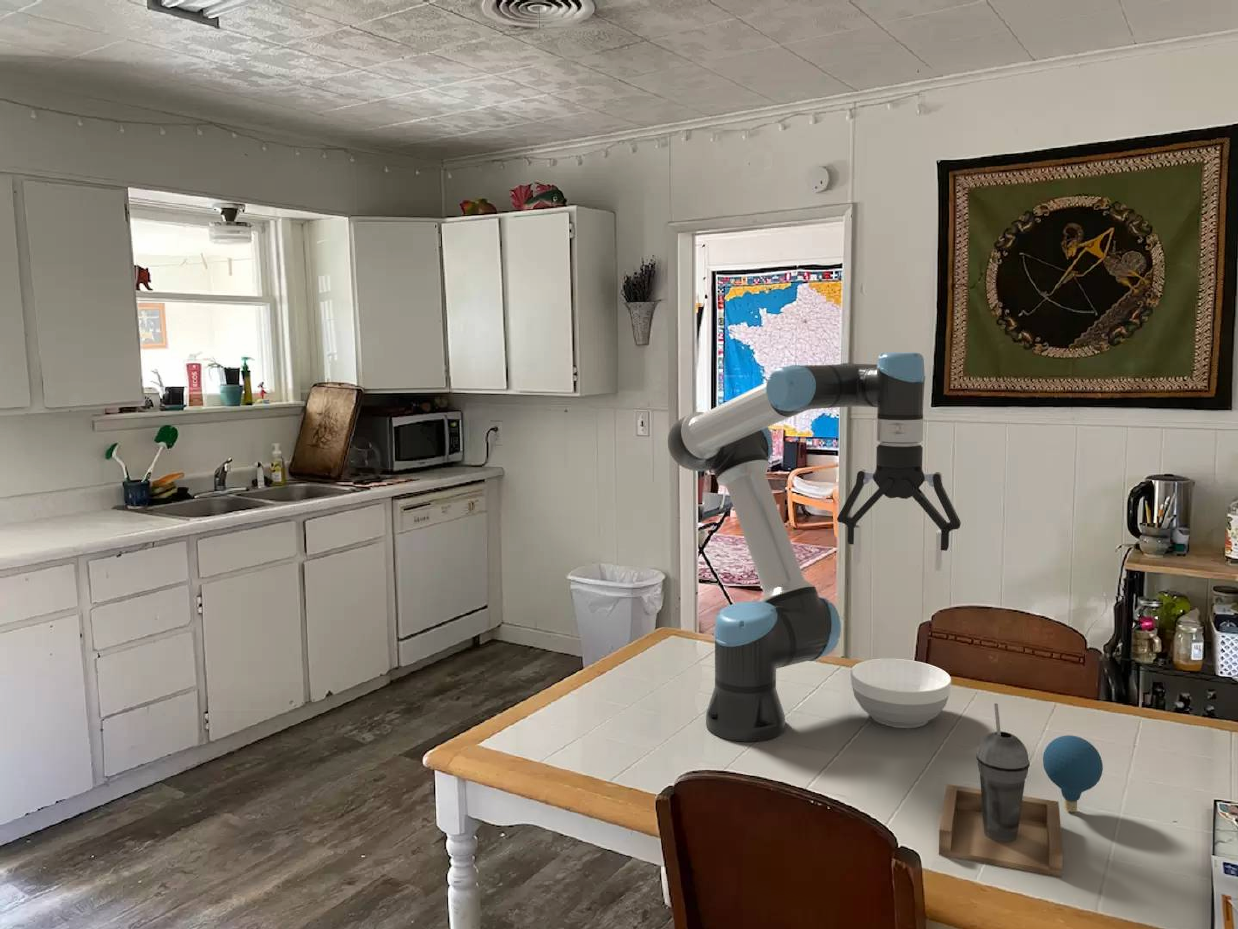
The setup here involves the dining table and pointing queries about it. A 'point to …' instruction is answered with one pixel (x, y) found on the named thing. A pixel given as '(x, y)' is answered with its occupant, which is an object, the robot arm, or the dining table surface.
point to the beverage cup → (1002, 782)
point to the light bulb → (1072, 767)
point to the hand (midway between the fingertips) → (896, 566)
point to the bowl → (900, 691)
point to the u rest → (1028, 852)
